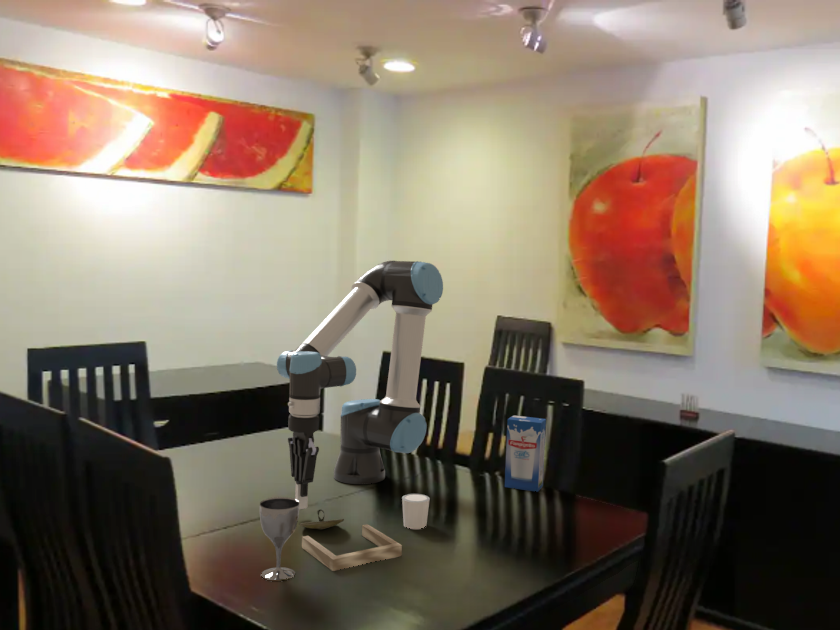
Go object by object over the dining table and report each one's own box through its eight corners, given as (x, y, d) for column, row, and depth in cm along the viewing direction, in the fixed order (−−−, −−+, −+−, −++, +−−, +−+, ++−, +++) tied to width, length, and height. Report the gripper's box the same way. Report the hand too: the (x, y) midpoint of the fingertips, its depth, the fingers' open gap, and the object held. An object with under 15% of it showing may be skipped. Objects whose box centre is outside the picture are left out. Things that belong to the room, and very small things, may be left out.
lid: (305, 540, 181) (306, 519, 181) (294, 526, 190) (295, 506, 190) (349, 535, 185) (349, 514, 185) (336, 521, 194) (336, 501, 194)
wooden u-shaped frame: (367, 534, 186) (367, 524, 186) (401, 556, 174) (401, 545, 173) (301, 547, 176) (302, 536, 176) (332, 571, 164) (333, 559, 164)
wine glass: (260, 566, 165) (262, 497, 164) (299, 566, 166) (300, 497, 165) (256, 582, 157) (257, 509, 156) (296, 582, 158) (297, 509, 157)
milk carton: (504, 487, 228) (507, 419, 226) (510, 481, 234) (513, 415, 232) (538, 491, 224) (541, 422, 223) (543, 486, 230) (546, 418, 228)
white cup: (425, 531, 189) (426, 503, 189) (398, 528, 191) (399, 500, 190) (431, 522, 196) (432, 494, 196) (404, 519, 198) (405, 492, 197)
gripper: (279, 410, 197) (276, 502, 199) (301, 420, 187) (298, 518, 188) (306, 408, 202) (303, 498, 203) (329, 418, 191) (326, 513, 192)
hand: (301, 508), depth 196 cm, fingers closed
